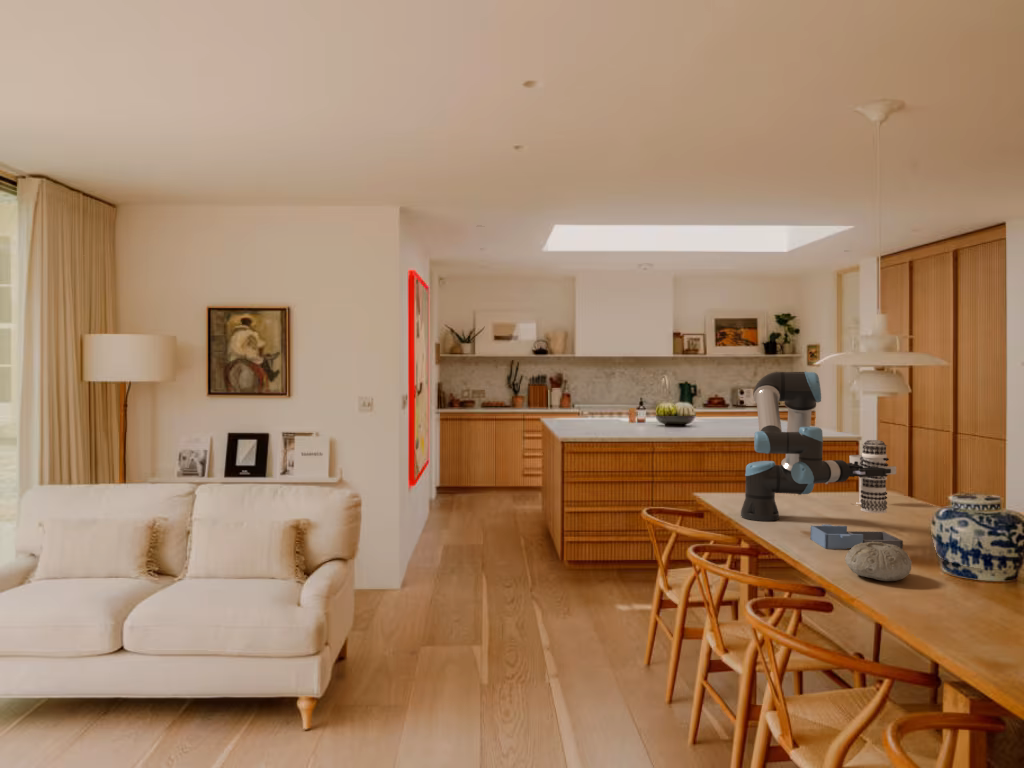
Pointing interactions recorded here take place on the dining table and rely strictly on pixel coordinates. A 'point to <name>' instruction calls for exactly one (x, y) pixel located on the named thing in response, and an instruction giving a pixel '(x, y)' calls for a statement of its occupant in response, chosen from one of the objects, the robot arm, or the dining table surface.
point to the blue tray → (834, 537)
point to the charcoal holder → (878, 537)
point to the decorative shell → (879, 561)
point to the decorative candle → (874, 477)
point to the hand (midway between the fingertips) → (884, 468)
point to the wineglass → (852, 460)
